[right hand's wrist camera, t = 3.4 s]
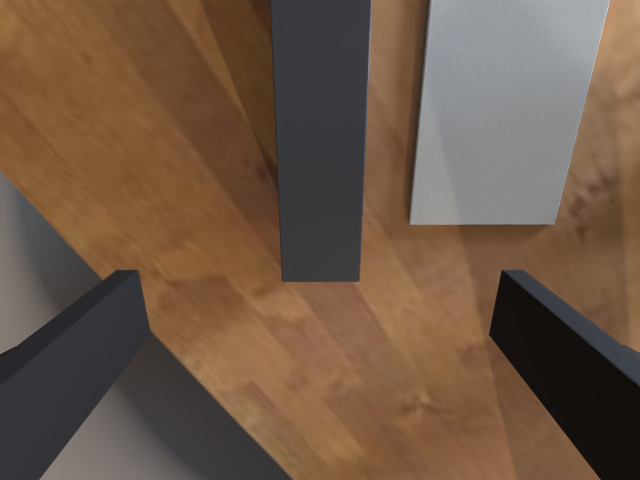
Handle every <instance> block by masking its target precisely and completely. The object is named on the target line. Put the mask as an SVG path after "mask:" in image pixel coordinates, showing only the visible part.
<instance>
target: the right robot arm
mask: <svg viewBox="0 0 640 480" xmlns="http://www.w3.org/2000/svg"><path fill="white" fill-rule="evenodd" d="M150 335H151V332H150V327H149V322H148V317H147V312H146V307H145V302H144V297H143V292H142V287H141V282H140V277H139V272H138V270H116V271H115V272H114V273H112V274H111V275H110V276H108V277H107V278H106V279H105V280H103V281H102V282H101V283H99V284H98V285H97V286H95V287H94V288H93V289H91V290H90V291H89V292H87V293H86V294H85V295H84V296H82V297H81V298H80V299H78V300H77V301H76V302H74V303H73V304H72V305H70V306H69V307H68V308H66V309H65V310H64V311H63V312H61V313H60V314H59V315H57V316H56V317H55V318H53V319H52V320H51V321H49V322H48V323H47V324H45V325H44V326H43V327H41V328H40V329H39V330H38V331H36V332H35V333H34V334H32V335H31V336H30V337H28V338H27V339H26V340H24V341H23V342H22V343H20V344H19V345H18V346H16V347H14V348H12V349H10V350H8V351H6V352H4V353H2V354H0V480H39V479H40V478H41V477H42V475H43V474H44V473H45V471H46V470H47V469H48V468H49V466H50V465H51V464H52V462H53V461H54V460H55V459H56V457H57V456H58V455H59V453H60V452H61V451H62V449H63V448H64V447H65V446H66V444H67V443H68V442H69V440H70V439H71V438H72V436H73V435H74V434H75V433H76V431H77V430H78V429H79V427H80V426H81V425H82V423H83V422H84V421H85V420H86V418H87V417H88V416H89V414H90V413H91V412H92V411H93V409H94V408H95V407H96V405H97V404H98V403H99V401H100V400H101V399H102V398H103V396H104V395H105V394H106V392H107V391H108V390H109V389H110V387H111V386H112V385H113V383H114V382H115V381H116V379H117V378H118V377H119V376H120V374H121V373H122V372H123V370H124V369H125V368H126V366H127V365H128V364H129V363H130V361H131V360H132V359H133V357H134V356H135V355H136V353H137V352H138V351H139V350H140V348H141V347H142V346H143V344H144V343H145V342H146V341H147V339H148V338H149V337H150ZM489 335H490V337H491V338H492V339H493V341H494V342H495V343H496V344H497V346H498V347H499V348H500V350H501V351H502V352H503V353H504V355H505V356H506V357H507V359H508V360H509V361H510V363H511V364H512V365H513V366H514V368H515V369H516V370H517V372H518V373H519V374H520V376H521V377H522V378H523V379H524V381H525V382H526V383H527V385H528V386H529V387H530V389H531V390H532V391H533V392H534V394H535V395H536V396H537V398H538V399H539V400H540V401H541V403H542V404H543V405H544V407H545V408H546V409H547V411H548V412H549V413H550V414H551V416H552V417H553V418H554V420H555V421H556V422H557V424H558V425H559V426H560V427H561V429H562V430H563V431H564V433H565V434H566V435H567V436H568V438H569V439H570V440H571V442H572V443H573V444H574V446H575V447H576V448H577V449H578V451H579V452H580V453H581V455H582V456H583V457H584V459H585V460H586V461H587V462H588V464H589V465H590V466H591V468H592V469H593V470H594V471H595V473H596V474H597V475H598V477H599V478H600V479H601V480H640V353H639V352H637V351H635V350H633V349H631V348H629V347H627V346H625V345H621V344H620V343H618V342H617V341H616V340H614V339H613V338H612V337H610V336H609V335H608V334H606V333H605V332H604V331H603V330H601V329H600V328H599V327H597V326H596V325H595V324H593V323H592V322H591V321H589V320H588V319H587V318H585V317H584V316H583V315H581V314H580V313H579V312H578V311H576V310H575V309H574V308H572V307H571V306H570V305H568V304H567V303H566V302H564V301H563V300H562V299H560V298H559V297H558V296H557V295H555V294H554V293H553V292H551V291H550V290H549V289H547V288H546V287H545V286H543V285H542V284H541V283H539V282H538V281H537V280H535V279H534V278H533V277H532V276H530V275H529V274H528V273H526V272H525V271H524V270H502V272H501V277H500V282H499V287H498V292H497V297H496V302H495V307H494V312H493V317H492V322H491V327H490V332H489Z"/></svg>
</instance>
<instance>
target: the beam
mask: <svg viewBox="0 0 640 480" xmlns="http://www.w3.org/2000/svg"><path fill="white" fill-rule="evenodd" d="M270 8H271V32H272V56H273V79H274V103H275V127H276V150H277V174H278V198H279V221H280V245H281V269H282V282H359V281H360V259H361V237H362V214H363V191H364V169H365V146H366V123H367V100H368V78H369V55H370V32H371V10H372V0H270Z"/></svg>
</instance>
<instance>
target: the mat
mask: <svg viewBox="0 0 640 480" xmlns="http://www.w3.org/2000/svg"><path fill="white" fill-rule="evenodd" d="M609 1H610V0H429V8H428V19H427V29H426V40H425V51H424V62H423V73H422V83H421V94H420V105H419V116H418V126H417V137H416V148H415V159H414V170H413V180H412V191H411V202H410V213H409V224H410V225H554V224H555V221H556V217H557V213H558V209H559V205H560V200H561V196H562V192H563V188H564V184H565V180H566V176H567V172H568V168H569V164H570V160H571V156H572V152H573V148H574V143H575V139H576V135H577V131H578V127H579V123H580V119H581V115H582V111H583V107H584V103H585V99H586V95H587V91H588V87H589V82H590V78H591V74H592V70H593V66H594V62H595V58H596V54H597V50H598V46H599V42H600V38H601V34H602V30H603V26H604V21H605V17H606V13H607V9H608V5H609Z"/></svg>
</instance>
